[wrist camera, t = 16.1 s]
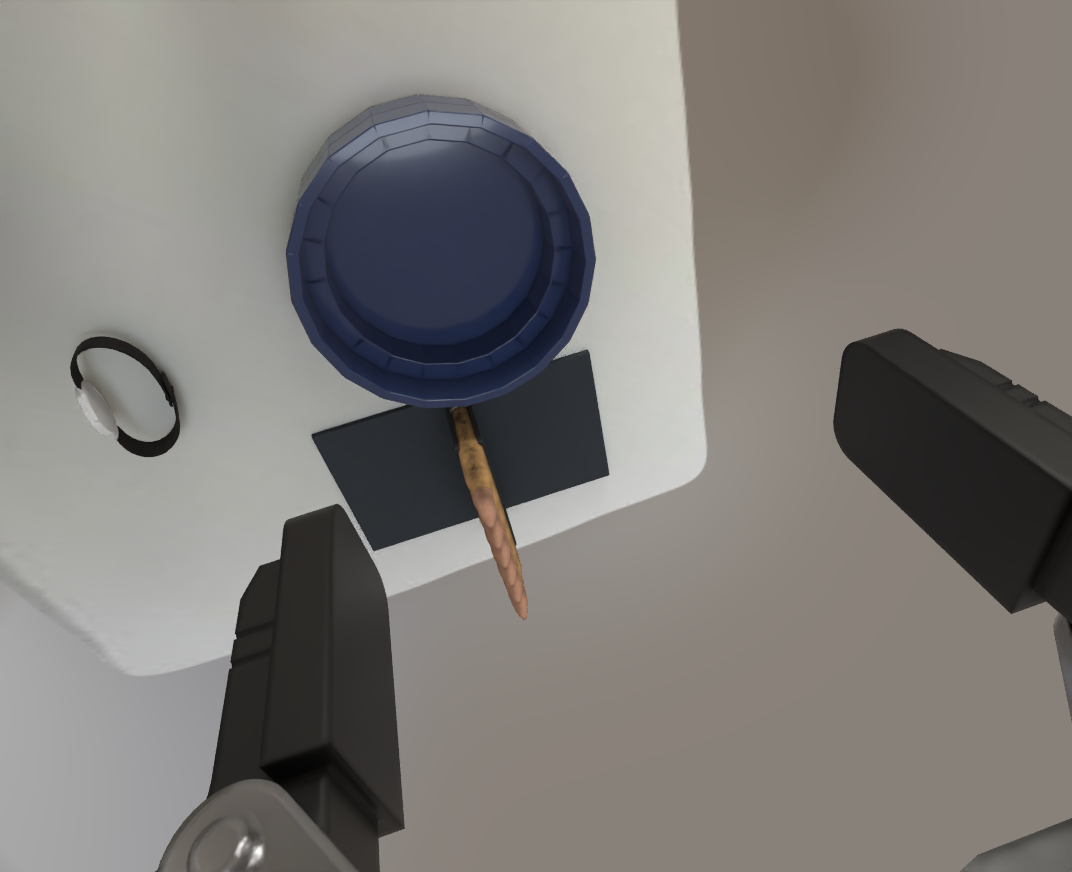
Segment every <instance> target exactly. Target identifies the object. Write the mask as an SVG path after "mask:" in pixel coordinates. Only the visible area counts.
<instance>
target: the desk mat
mask: <svg viewBox="0 0 1072 872" xmlns="http://www.w3.org/2000/svg"><path fill="white" fill-rule="evenodd" d="M472 407H473V410H474V413H475V416H476V419H477V423H478V426H479V429H480V432H481V435H482V438H483V441H484V444H485V447H486V450H487V453H488V456H489V459H490V462H491V465H492V468H493V471H494V474H495V477H496V480H497V483H498V486H499V489H500V492H501V495H502V499H503V502H504V505H505V508H509V507H512V506H515V505H518V504H521V503H525V502H528V501H531V500H534V499H537V498H540V497H543V496H546V495H549V494H552V493H555V492H559V491H562V490H565V489H568V488H571V487H574V486H577V485H580V484H583V483H586V482H589V481H593V480H596V479H599V478H602V477H605V476H608V475H609V470H608V463H607V457H606V451H605V445H604V439H603V433H602V427H601V421H600V415H599V409H598V402H597V396H596V390H595V384H594V378H593V372H592V366H591V360H590V354H589V351H588V350H586V351H583V352H579V353H576V354H573V355H570V356H566V357H563V358H560V359H557V360H553V361H551V362H550V363H549V364H548V365H547V367H546V368H545V369H544V370H543V371H542V372H541V373H539V374H538V375H536V376H534V377H533V378H531V379H530V380H528V381H527V382H525V383H523V384H522V385H520V386H519V387H517V388H515V389H514V390H512V391H511V392H509V393H507V394H505V395H502V396H499V397H496V398H493V399H489V400H486V401H483V402H480V403H476V404H473V405H472ZM312 439H313V441H314V443H315V444H316V446H317V448H318V450H319V452H320V454H321V455H322V457H323V459H324V461H325V463H326V465H327V466H328V468H329V470H330V472H331V474H332V476H333V477H334V479H335V481H336V483H337V485H338V487H339V488H340V490H341V492H342V494H343V496H344V498H345V499H346V501H347V503H348V505H349V507H350V509H351V510H352V512H353V514H354V516H355V518H356V520H357V521H358V523H359V525H360V527H361V529H362V531H363V532H364V534H365V536H366V538H367V540H368V542H369V543H370V545H371V547H372V549H373V551H376V550H379V549H382V548H385V547H388V546H392V545H395V544H398V543H401V542H404V541H407V540H410V539H413V538H416V537H419V536H422V535H426V534H429V533H432V532H435V531H438V530H441V529H444V528H447V527H450V526H453V525H456V524H460V523H463V522H466V521H469V520H472V519H475V518H478V517H479V515H478V511H477V509H476V507H475V505H474V503H473V500H472V496H471V493H470V490H469V488H468V486H467V484H466V481H465V478H464V474H463V471H462V468H461V466H460V463H459V460H458V457H457V455H456V452H455V449H454V445H453V441H452V437H451V433H450V429H449V425H448V421H447V417H446V413H445V408H444V407H442V408H421V407H417V406H413V405H407V406H403V407H400V408H397V409H394V410H390V411H387V412H384V413H381V414H377V415H374V416H371V417H368V418H364V419H361V420H358V421H355V422H351V423H348V424H345V425H342V426H338V427H335V428H332V429H328V430H325V431H322V432H319V433H315V434H312Z"/></svg>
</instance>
